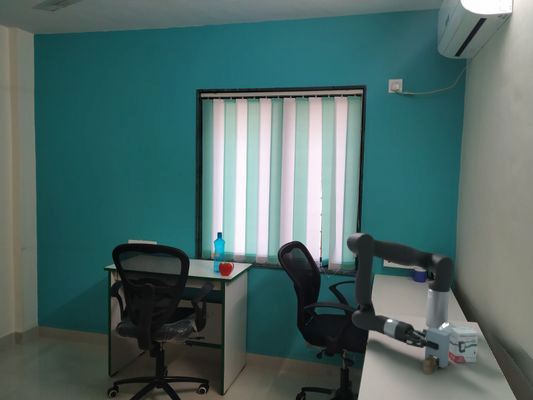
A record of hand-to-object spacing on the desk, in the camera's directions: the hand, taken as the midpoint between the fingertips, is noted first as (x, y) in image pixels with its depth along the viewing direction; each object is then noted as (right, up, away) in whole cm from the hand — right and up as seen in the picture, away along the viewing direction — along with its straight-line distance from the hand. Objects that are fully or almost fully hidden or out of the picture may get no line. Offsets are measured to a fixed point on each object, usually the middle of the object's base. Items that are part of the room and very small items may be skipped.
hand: (440, 345), depth 150 cm
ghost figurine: (+11, -7, +19) cm, 24 cm away
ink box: (+11, -8, +7) cm, 16 cm away
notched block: (-1, -7, +2) cm, 7 cm away
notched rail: (-1, -8, +2) cm, 8 cm away
